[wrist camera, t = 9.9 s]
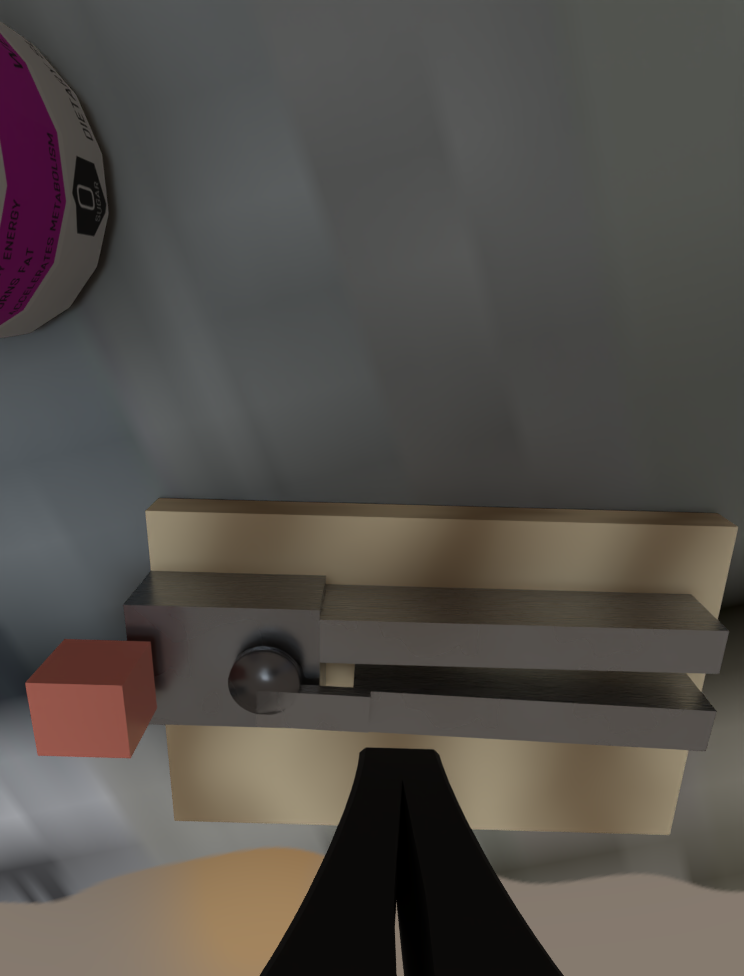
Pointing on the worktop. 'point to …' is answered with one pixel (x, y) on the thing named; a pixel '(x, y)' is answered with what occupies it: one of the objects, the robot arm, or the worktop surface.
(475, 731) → the bar
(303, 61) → the worktop surface
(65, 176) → the supplement can
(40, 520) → the worktop surface
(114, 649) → the tab
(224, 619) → the tongs body
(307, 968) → the robot arm
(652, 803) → the board
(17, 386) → the worktop surface
